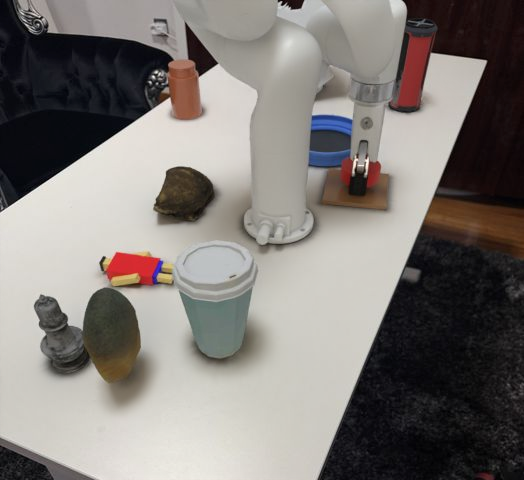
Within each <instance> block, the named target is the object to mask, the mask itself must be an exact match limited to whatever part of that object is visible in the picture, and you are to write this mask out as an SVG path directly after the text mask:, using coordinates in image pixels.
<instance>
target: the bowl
mask: <svg viewBox="0 0 524 480" xmlns="http://www.w3.org/2000/svg"><path fill="white" fill-rule="evenodd" d="M352 120H353V118H350V117H346V116H344V115H337V114H322V113H321V114H312V120H311V133H310V148H309V164H308V165H311V166H316V167H317V166H318V167H337V166H341V164H342V162H343V160H345V159H346V158H348V157H350V156H351V131H352Z"/></svg>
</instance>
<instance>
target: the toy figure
mask: <svg viewBox="0 0 524 480" xmlns="http://www.w3.org/2000/svg"><path fill="white" fill-rule="evenodd" d="M98 264H99V267H100V271H101V272H105V273H106V277H107V279H108V280H110V284H111V285H112V286H113V287H118V286H125V285H133V284H140V285H147V286H154V284H158V283H163V284H171V285H172V283H173V282H174V280H173V278H172V268H173V265H174V263H167V262H165V261H164V260H161V258H160V257H155V256H152V254H151V252H150V250H146V251H142V252H141V251H140V252H135V253H126V252H120V251H116V252H115V253H114V254H113V257H112V258H110V257H106V256H105V255H103V256H102V257H101V259H100V260H99V262H98ZM168 273H170V274H168Z"/></svg>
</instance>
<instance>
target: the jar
mask: <svg viewBox="0 0 524 480" xmlns="http://www.w3.org/2000/svg"><path fill="white" fill-rule="evenodd" d="M167 66H168V72H167V73H166V77H167V84H168V85H167V86H168V92H169V98H170V99H169V100H170V105H171V112H172V113H171V114H172V116H173V117H174V118H176V119H179V120H193V119H196V118H198V117H201V116H202V114H203V109H202V99H201V87H200V78H199V71H198V70H196V63H195V61H193V60H191V59H186V58H183V59H181V58H180V59H175V60H172V61H170V62H168V64H167Z"/></svg>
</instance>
